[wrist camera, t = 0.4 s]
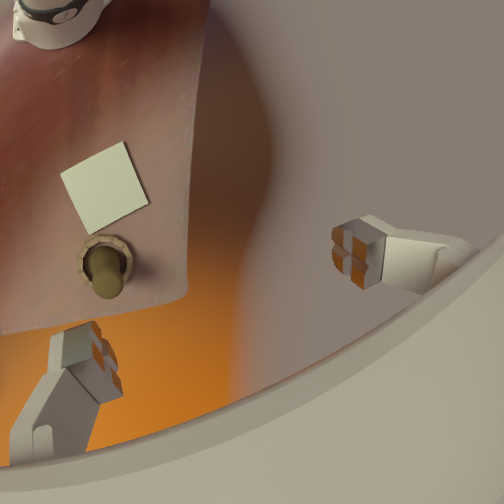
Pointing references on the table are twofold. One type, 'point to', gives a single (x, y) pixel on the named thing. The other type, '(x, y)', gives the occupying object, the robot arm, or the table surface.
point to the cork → (106, 272)
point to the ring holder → (94, 241)
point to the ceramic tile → (104, 187)
